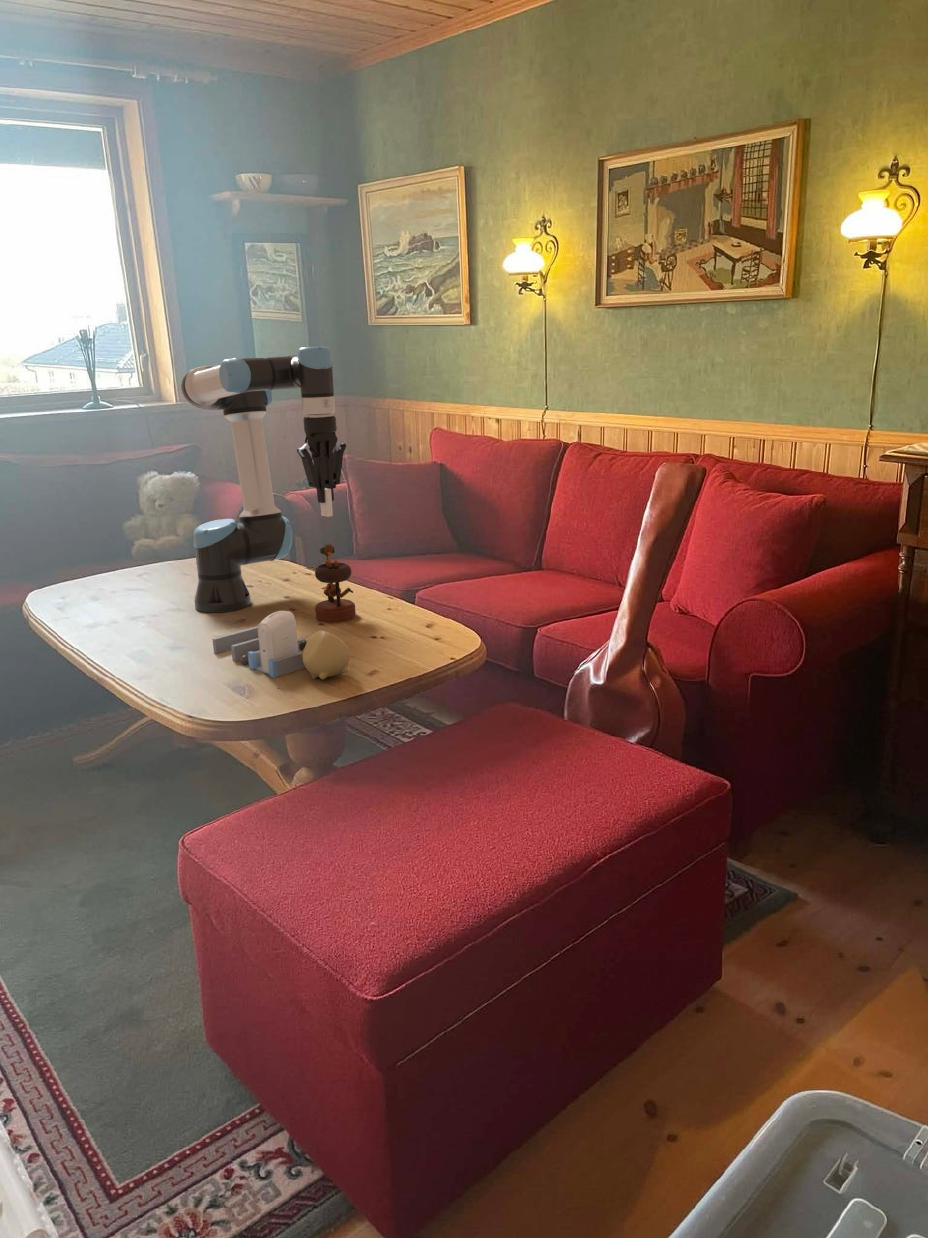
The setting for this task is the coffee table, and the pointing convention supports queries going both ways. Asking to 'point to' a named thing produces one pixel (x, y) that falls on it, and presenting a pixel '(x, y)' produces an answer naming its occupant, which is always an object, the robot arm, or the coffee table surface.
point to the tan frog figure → (324, 655)
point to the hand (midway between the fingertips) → (327, 515)
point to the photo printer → (277, 637)
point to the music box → (334, 590)
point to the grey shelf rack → (256, 652)
